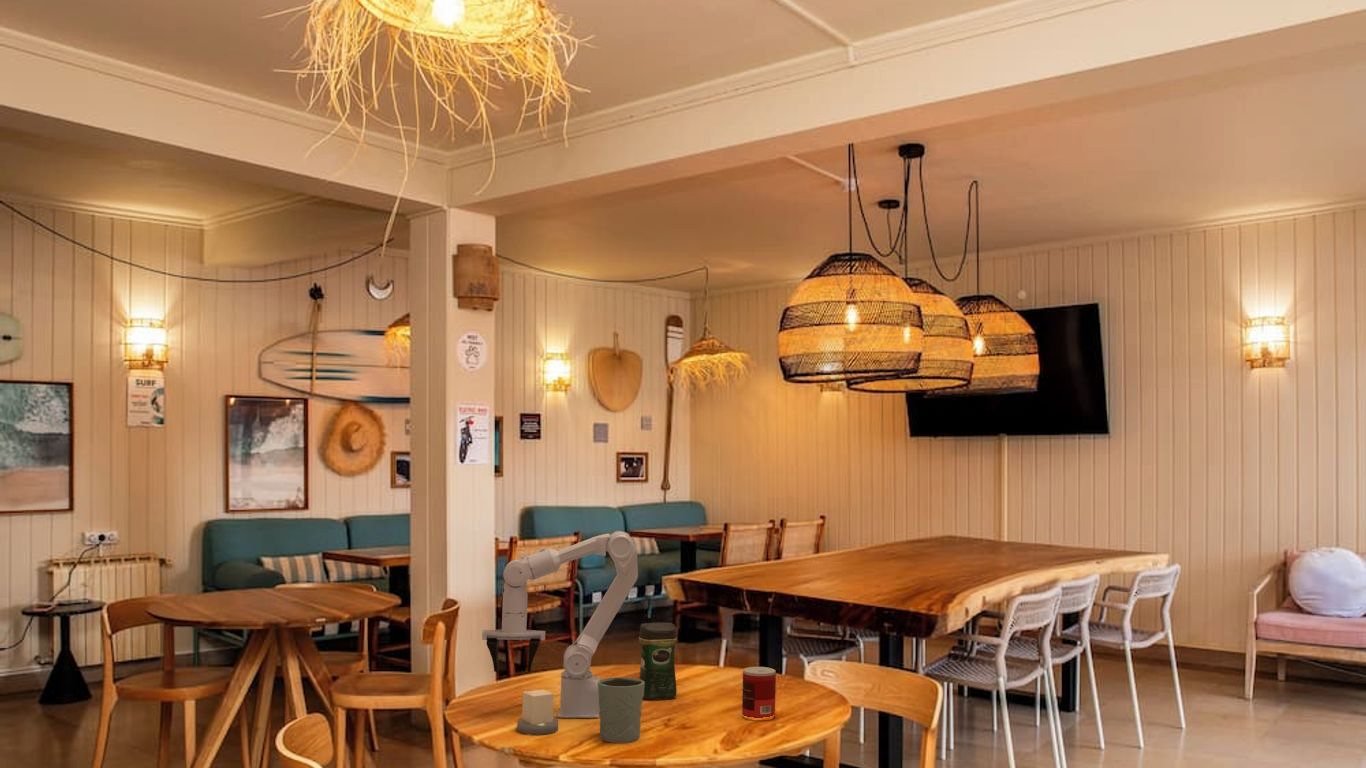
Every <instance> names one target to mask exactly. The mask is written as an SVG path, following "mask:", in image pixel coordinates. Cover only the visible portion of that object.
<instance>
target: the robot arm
mask: <svg viewBox="0 0 1366 768" xmlns="http://www.w3.org/2000/svg"><path fill="white" fill-rule="evenodd" d="M606 552H608V555H609V556H610V558H611V559H612V561H613V564H614V568H615V570H616V575H615V577H614V579H613V581H612V582H611V584H610V585H609V588H607V591H606V592H605V594H604V595H603V597H602V599H601V600H600V602H599V603H598V605H597V607H596V609H595V610H594V612H593V614H592V615H591V617H590V619H589V620H588V622H587V624H586V625H585V627H584V628H583V630H582V631H581V632H580V634H579V635H578V637H577V638H576V640H575V641H574V642H573V643H572V644H570V645H569V646H567V647H566V649H565V650H564V652H563V663H562V664H563V669H564V670H563V671H562V672H561V674H560V698H559V699H560V700H559V701H560V702H559V703H560V705H559V708H558V712H557V718H559V719H560V718H561V719H562V718H565V719H566V718H568V719H574V718H576V719H577V718H579V719H580V718H582V719H583V718H584V719H585V718H588V719H589V718H590V719H592V718H593V719H594V718H595V719H596V718H600V706H599V693H598V681H599V680H601V676H599V675H593V674H592V673H593V672H592V671H591V670H590V669H591V666H592V658H593V656H594V655H595V653H596V651H597V647H598V646H599V643H600V642H601V640H602V638H603V637H604V635H605V633H606V632H607V630H608V629H609V627H610V625H611V623H612V622H613V620H614V618H615V617H616V615H617V613H618V612H619V611H620V609H621V607H622V606H623V603H624V602H625V600H626V599H627V597H628V595H629V593H630V592H631V590H632V588H633V587H634V586H635V583H636V582H637V580H638V577H639V569H638V550H637V548H636V545H635V543H634V541H633V539H632V537H631V536H630V534H628V533H627V532H626V531H624V530H616V531H613V532H612V533H603V534H600V535H596V536H593V537H590V538H588V539H586V540H582V541H580V542H577V543H575V544H572V545H569V546H567V547H565V548H562V549H560V550H555V549H553V548H551V547H549V548H547V549H546V547H542V548H539V551H538V552H535V553H532V554H530V555H527V556H525V555H520V559H514V560H513V559H512V560H511V561H509V562H508V563H507V564H506V566H505V568H504V570H503V573H502V574H503V579H504V584H503V592H502V613H501V615H502V616H501V618H502V619H501V629H489V630H488V629H486V630H485V629H483V630H482V632H481V634H482V635H481V640H482V641H486V642H485V644H486V647H487V648H488V652H489V653H490V657H491V660H492V665H493V672H494V673H496V672H498V670H499V656H498V655H499V654H498V651H499V640H507V641H509V640H511V641H514V640H516V641H520V640H521V641H524V640H525V641H528V663H527V673H531V672H532V665H533V661H534V658H535V655H536V653H537V652H538V648H539V646H540V644H541V641H544V642H545V641H546V630H533V629H527V621H528V599H529V598H528V595H529V594H528V591H527V590H528V589H527V587H528V585H527V584H528V582H527V581H528V580H530V581H534V580H537V579H540V578H542V577H545V576H548V575H550V574H553V573H555V572H558V571H559V570H560V567H561V566H562V564H565V563H568V562H572V561H574V560H575V561H576V560H577V559H581V558H584V557H587V556H591V555H593V554H594V555H599V556H603V557H606V556H607V554H606Z"/></svg>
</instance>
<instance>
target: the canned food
mask: <svg viewBox="0 0 1366 768" xmlns="http://www.w3.org/2000/svg"><path fill="white" fill-rule="evenodd" d="M776 672H777V671H776V669H774V668H771V667H766V666H749V667H744V668H743V669H742V703H741V704H742V706H741V707H742V708H741V709H742V710H741V711H742V712H741V713H742V716H743V715H744V716H747V717H754V718H763V717H770V716H773V715H776V693H777V692H776V691H777V690H776V689H777V688H776V685H777V675H776Z"/></svg>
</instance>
